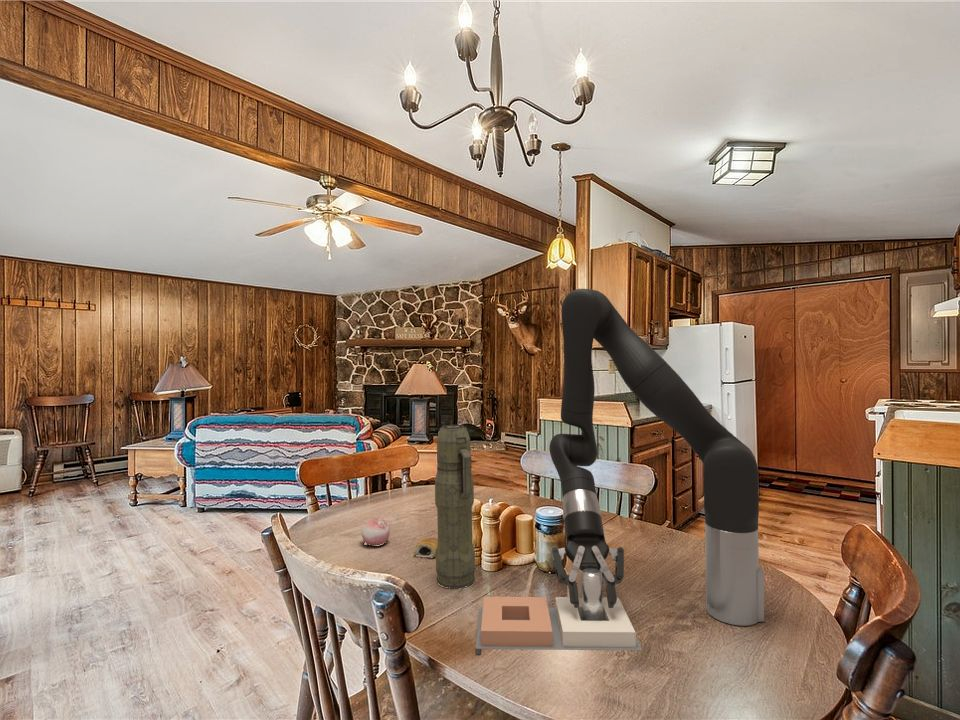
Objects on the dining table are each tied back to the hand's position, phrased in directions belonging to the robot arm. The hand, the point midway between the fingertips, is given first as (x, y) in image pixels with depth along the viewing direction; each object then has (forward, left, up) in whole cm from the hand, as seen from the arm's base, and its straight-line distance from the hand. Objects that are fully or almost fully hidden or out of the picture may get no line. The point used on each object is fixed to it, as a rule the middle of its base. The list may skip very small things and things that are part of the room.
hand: (594, 606), depth 88 cm
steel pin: (0, -2, -5) cm, 5 cm away
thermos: (+27, -23, -6) cm, 36 cm away
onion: (+51, -45, -6) cm, 68 cm away
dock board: (+7, -2, -6) cm, 9 cm away
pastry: (+35, -39, -6) cm, 53 cm away
